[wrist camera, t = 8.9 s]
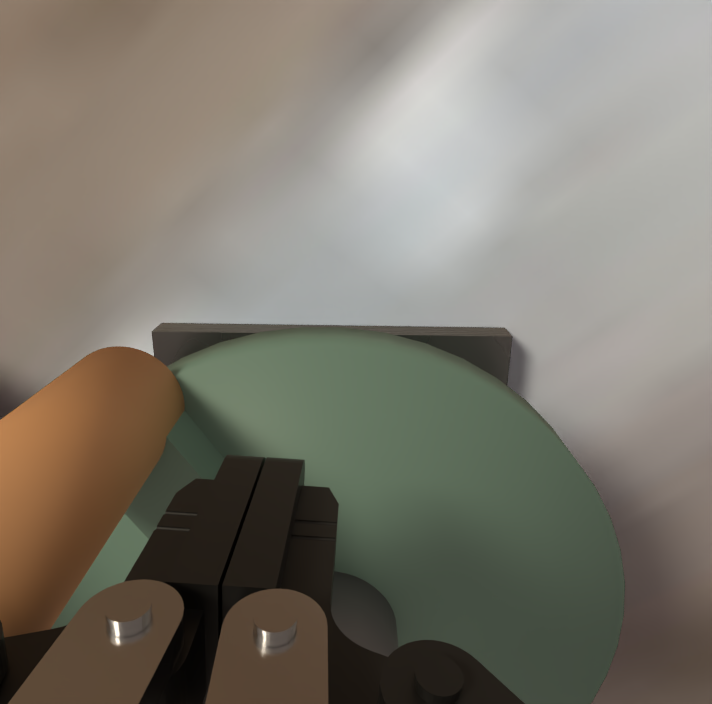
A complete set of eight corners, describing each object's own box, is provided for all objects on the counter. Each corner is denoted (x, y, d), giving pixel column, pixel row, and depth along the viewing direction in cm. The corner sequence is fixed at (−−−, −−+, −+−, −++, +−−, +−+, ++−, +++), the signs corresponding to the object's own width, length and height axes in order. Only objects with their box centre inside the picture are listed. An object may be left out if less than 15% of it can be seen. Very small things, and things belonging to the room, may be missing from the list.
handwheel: (686, 645, 20) (956, 1040, 11) (267, 839, 23) (214, 1267, 14) (385, 147, 14) (438, 129, 6) (-108, 488, 17) (-574, 823, 9)
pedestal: (475, 602, 28) (512, 733, 21) (189, 599, 28) (140, 731, 21) (504, 327, 23) (561, 391, 17) (161, 323, 23) (89, 385, 17)
